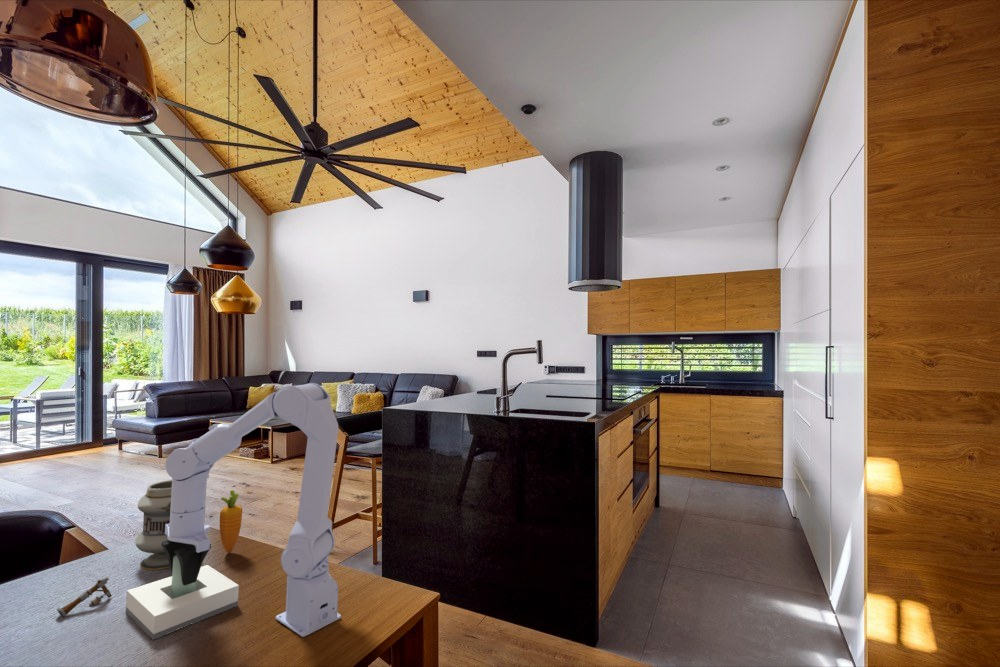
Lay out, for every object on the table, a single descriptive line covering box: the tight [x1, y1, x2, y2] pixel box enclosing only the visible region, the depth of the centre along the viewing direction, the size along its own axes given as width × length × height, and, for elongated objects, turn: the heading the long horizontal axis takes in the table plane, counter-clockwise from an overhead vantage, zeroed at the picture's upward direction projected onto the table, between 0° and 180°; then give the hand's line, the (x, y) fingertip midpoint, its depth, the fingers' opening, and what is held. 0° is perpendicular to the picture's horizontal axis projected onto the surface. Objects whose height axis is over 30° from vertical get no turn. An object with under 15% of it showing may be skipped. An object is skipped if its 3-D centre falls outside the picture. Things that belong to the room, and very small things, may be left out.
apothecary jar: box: [135, 479, 172, 571], centre depth 111 cm, size 12×12×18 cm
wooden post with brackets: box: [56, 577, 113, 619], centre depth 90 cm, size 2×8×4 cm, turn 154°
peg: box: [171, 555, 196, 598], centre depth 91 cm, size 4×4×7 cm
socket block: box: [125, 564, 240, 641], centre depth 90 cm, size 14×14×4 cm
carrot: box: [219, 489, 243, 554], centre depth 115 cm, size 5×5×15 cm
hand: (184, 579), depth 90 cm, fingers closed on peg, 4 cm apart
